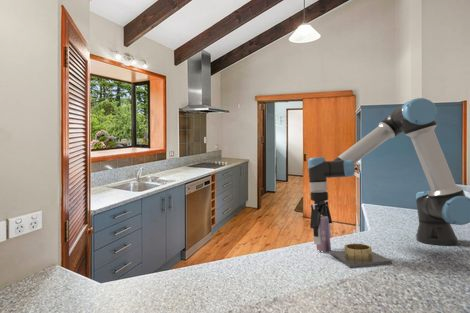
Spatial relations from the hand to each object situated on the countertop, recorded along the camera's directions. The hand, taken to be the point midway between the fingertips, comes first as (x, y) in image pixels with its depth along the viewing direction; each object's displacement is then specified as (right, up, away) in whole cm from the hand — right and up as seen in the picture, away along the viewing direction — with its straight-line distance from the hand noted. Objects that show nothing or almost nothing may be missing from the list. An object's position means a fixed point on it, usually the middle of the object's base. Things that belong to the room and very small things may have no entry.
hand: (323, 240), depth 114 cm
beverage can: (0, -5, 0) cm, 5 cm away
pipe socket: (+9, -3, -14) cm, 17 cm away
